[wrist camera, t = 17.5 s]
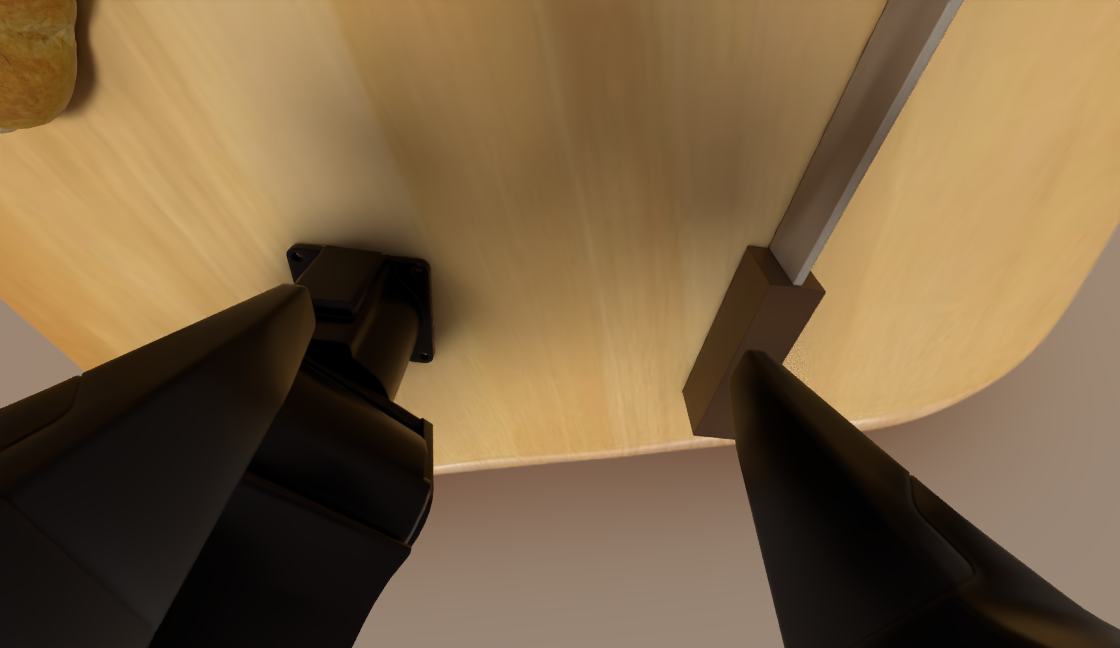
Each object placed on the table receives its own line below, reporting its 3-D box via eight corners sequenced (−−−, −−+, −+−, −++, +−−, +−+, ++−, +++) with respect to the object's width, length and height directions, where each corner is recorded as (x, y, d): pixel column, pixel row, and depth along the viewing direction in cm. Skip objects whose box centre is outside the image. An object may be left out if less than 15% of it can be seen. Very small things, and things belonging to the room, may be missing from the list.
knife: (721, 396, 28) (735, 440, 25) (682, 391, 28) (692, 436, 25) (937, -13, 15) (1009, -4, 13) (868, -25, 15) (927, -19, 12)
